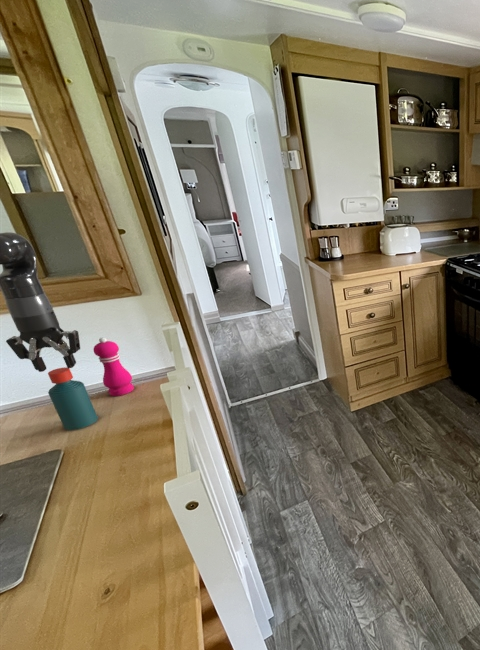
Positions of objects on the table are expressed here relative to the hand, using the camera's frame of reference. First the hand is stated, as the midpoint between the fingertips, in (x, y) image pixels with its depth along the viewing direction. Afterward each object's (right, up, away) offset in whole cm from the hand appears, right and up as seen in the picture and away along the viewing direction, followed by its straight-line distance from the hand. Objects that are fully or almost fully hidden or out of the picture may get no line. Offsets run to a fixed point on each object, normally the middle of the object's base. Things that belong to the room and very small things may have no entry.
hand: (57, 368), depth 105 cm
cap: (0, -3, +1) cm, 4 cm away
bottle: (0, -17, +7) cm, 18 cm away
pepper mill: (-4, -10, +24) cm, 26 cm away
